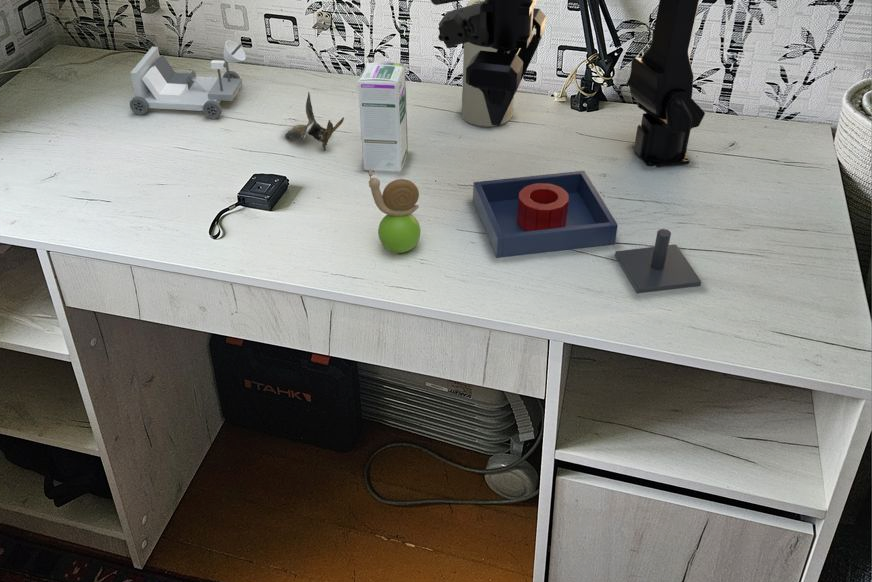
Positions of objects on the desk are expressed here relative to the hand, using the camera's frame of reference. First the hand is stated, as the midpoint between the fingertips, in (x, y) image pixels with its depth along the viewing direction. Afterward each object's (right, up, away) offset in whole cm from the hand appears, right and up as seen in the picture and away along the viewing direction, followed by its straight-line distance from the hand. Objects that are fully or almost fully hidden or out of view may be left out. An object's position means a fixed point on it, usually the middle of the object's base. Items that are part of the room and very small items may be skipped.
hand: (503, 108), depth 123 cm
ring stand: (+18, -22, -6) cm, 29 cm away
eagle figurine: (-26, 0, +22) cm, 34 cm away
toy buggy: (-47, +9, +33) cm, 58 cm away
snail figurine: (-14, -19, -1) cm, 23 cm away
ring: (+5, -15, +2) cm, 16 cm away
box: (+5, -15, +3) cm, 16 cm away
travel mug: (+1, +5, +26) cm, 26 cm away
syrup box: (-15, -4, +16) cm, 23 cm away
